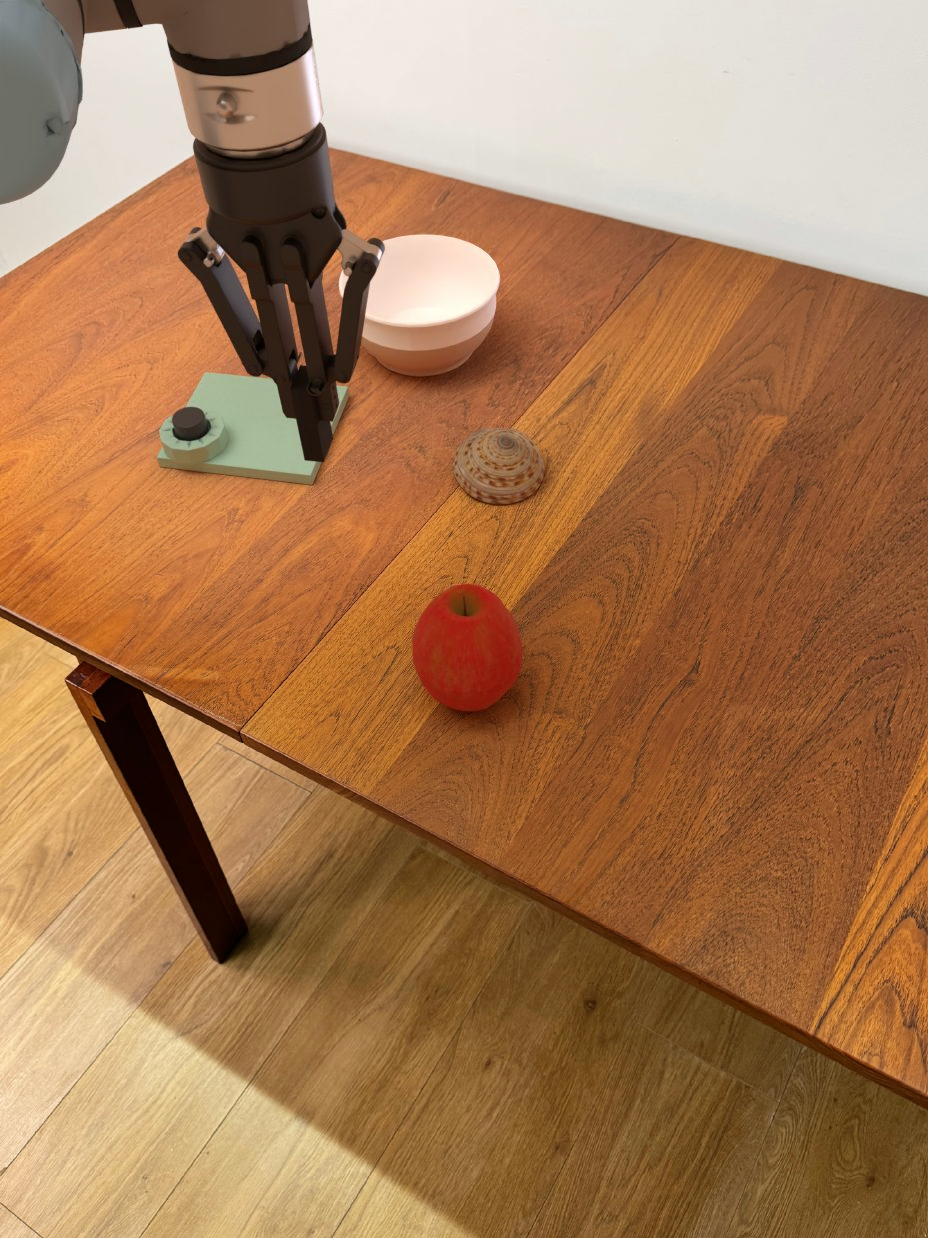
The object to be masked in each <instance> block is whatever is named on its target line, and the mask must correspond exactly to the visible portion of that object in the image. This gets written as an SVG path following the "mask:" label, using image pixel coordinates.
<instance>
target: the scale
mask: <svg viewBox="0 0 928 1238" xmlns="http://www.w3.org/2000/svg"><path fill="white" fill-rule="evenodd" d="M336 386H337V393H338V398H339V406H338V409H337V412H336V414H335V417H334V420H333V422H332V421H330V423H331V428H332V434H333V435H334V434H335V432H336V429H337V427H338V424H339V422H340V419H341V418H342V414H343V413H344V410H345V407H346V405H347V403H348V400H349V398H350V390H349V387H348V386H347V385H337V384H336ZM185 407H197V408H200V409H201V410H202V411H203V412H204V414H205V417H206V421H207V424H208V433H207V434H206V435H205V436H204V437H202V438H201V439H199V440H194V441H190V442H189V441H182V440H180V439H179V438H178V437H177V435H176V432H175V429H174V426H173V423H172V416H173V415H174V413H173V414H171V415H170V416H168V417H167V418H165V419H164V420H163V423H162V424H161V426H160V428H159V430H158V435H159V438H160V442H161V445H162V447H161V449H160V450H159V452H158V454H157V456H156V461H157V463H158V466H159V467H160V468H168V469H177V470H185V471H190V472H191V471H192V472H200V473H208V474H209V473H210V474H219V475H226V476H234V477H242V478H252V479H259V480H270V481H278V482H286V483H292V484H293V483H294V484H301V485H302V484H303V485H311V486H312V485H313V484H314V482H315V480H316V477H317V475H318V472H319V470H320V467H321V465H322V463H323V462H315V461H305V460H304V455H303V450H302V446H301V441H300V436H299V431H298V426H297V422H296V419H293V418H286V416H285V415H284V413H283V411H282V405H281V402H280V397H279V393H278V388H277V385H276V383H275V382H274V381H273V379H272V378H270V377H260V376H258V377H254V376H251V375H250V376H249V375H238V374H230V373H229V374H228V373H218V372H210V371H205V372H204V374H203V375H202V376H201V379H200V381H199V382H198V384H197V386H196V387H195V389H194V391H193V393H192V395H191V396H190V398H189V400H188V402H187V403H186V405H185Z"/></svg>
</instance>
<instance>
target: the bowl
mask: <svg viewBox="0 0 928 1238" xmlns="http://www.w3.org/2000/svg"><path fill="white" fill-rule="evenodd" d="M381 241H382V242H383V243H384V245H385V250H384V253H383V256H382V258H381V261H380V263H379V266H378V268H377V271H376V273H375V275H374V277H373V278H372V280H371V281H370V287H369V293H368V300H367V307H366V313H365V320H364V327H363V334H362V340H361V346H362V348H363V349H364V350H365V351H366V352H367V353H368V354H369V355H371V356H373V357H374V358H375V359H376V360H377V362H379V364H380V365H382V366H383V367H385V369H388V370H389V371H392V372H394V373H396V374H400V375H404V376H408V377H409V376H410V377H411V376H412V377H430V376H437V375H442V374H445V373H448V372H451V371H453V370H455V369H457V368H459V367H460V366H461V365H464V364H465V363H466V362H467V361H468V360H469V359H470V357H471V356H472V354H473V353H474V351H476V350H477V349H478V348H479V347H480V346H481V345H482V343H483V342H484V340H485V339H486V337H487V336H488V334H489V333H490V331H491V329H492V327H493V324H494V320H495V314H496V310H497V292H498V290H499V287H500V283H501V275H500V274H501V273H500V270H499V268H498V265H497V263H496V262H495V260H494V259H493V258H492V256H491V255H490V254H488V253H487V252H486V251H485V250H484V249H482V248H481V247H479V246H477V245H475V244H473V243H472V242H469V241H467V240H463V239H460V238H458V237H451V236H447V235H440V234H410V235H403V236H397V237H393V238H392V237H391V238H389V239H388V238H387V239H384V240H381ZM348 278H349V277H348V276H346V275H345V274H344V273H343V270H342V271H341V272H340V275H339V280H338V290H339V295H340V297H341V298H342V299H343V293H344V288H345V285H346V282H347V280H348Z"/></svg>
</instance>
